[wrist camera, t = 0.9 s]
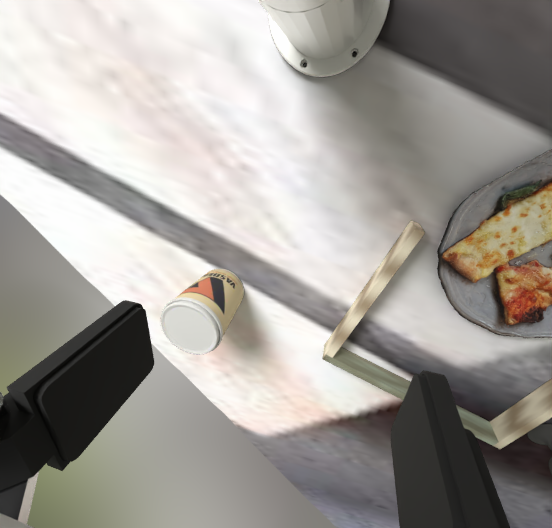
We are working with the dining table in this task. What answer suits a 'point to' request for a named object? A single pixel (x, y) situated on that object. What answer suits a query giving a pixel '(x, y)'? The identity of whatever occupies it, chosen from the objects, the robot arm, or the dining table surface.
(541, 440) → the sundae
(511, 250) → the food plate
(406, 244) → the bay
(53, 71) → the dining table surface
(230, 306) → the coffee cup
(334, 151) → the dining table surface
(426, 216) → the dining table surface
